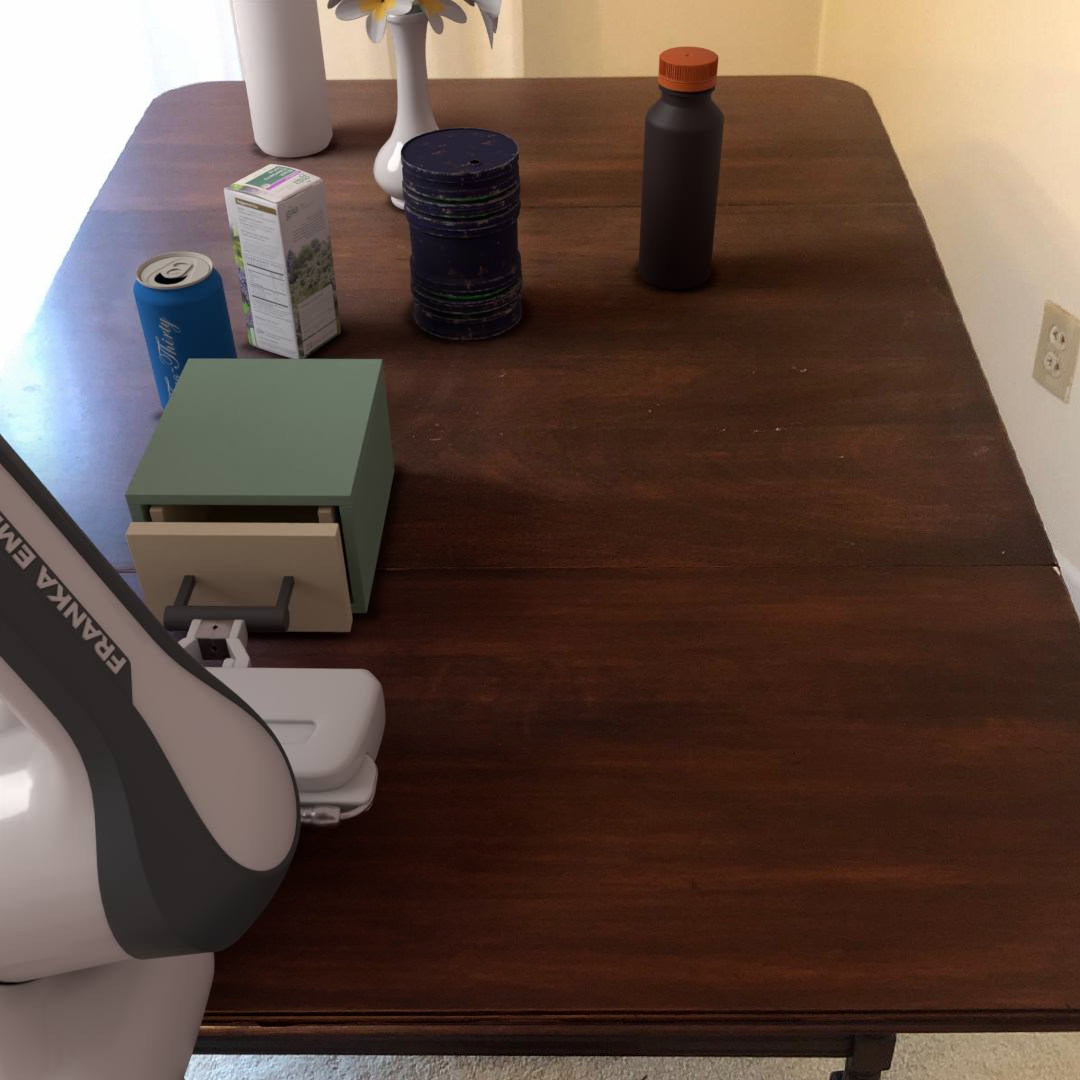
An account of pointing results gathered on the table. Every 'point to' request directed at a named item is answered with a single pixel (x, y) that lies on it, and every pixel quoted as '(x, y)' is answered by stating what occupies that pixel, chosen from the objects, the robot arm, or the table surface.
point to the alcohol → (284, 75)
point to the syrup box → (284, 260)
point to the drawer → (244, 566)
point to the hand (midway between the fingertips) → (221, 627)
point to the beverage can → (181, 315)
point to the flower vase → (409, 67)
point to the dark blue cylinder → (463, 231)
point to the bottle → (681, 171)
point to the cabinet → (277, 446)
